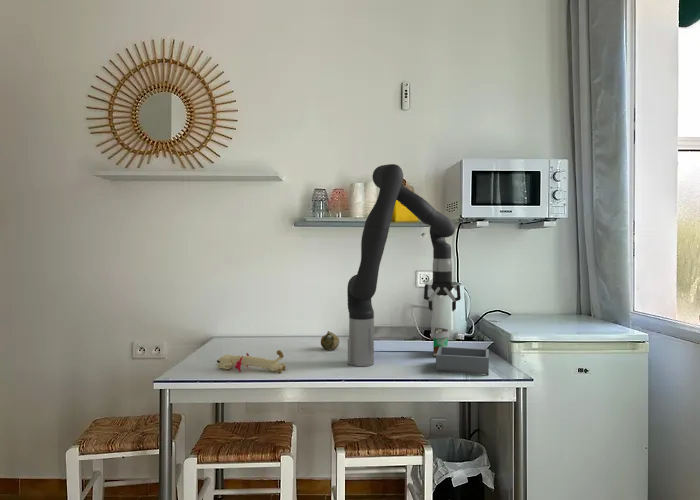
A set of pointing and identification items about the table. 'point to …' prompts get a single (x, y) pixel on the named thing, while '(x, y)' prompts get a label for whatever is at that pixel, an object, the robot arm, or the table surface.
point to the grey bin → (462, 360)
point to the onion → (329, 341)
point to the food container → (439, 339)
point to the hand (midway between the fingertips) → (442, 310)
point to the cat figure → (251, 362)
